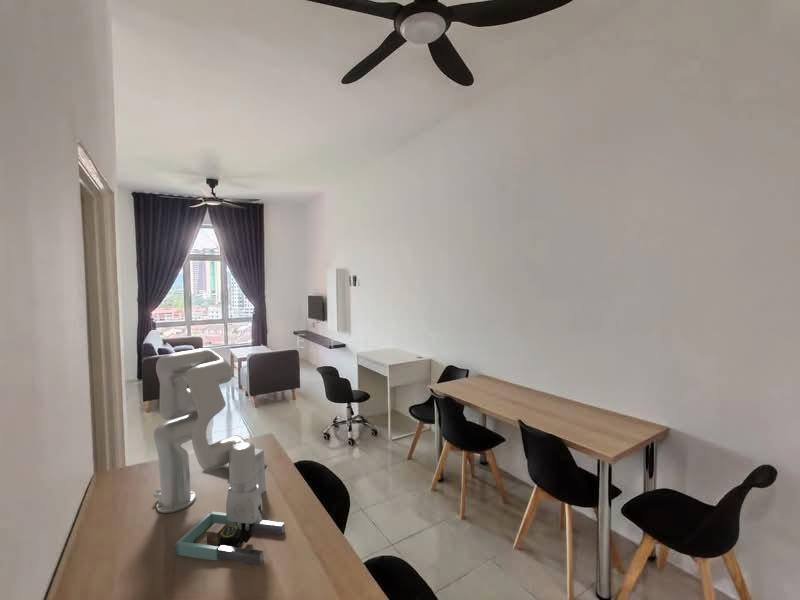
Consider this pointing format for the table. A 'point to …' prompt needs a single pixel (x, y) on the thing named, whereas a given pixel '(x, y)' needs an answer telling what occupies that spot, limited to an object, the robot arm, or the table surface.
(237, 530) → the tape measure
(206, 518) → the u shaped frame
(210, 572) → the table surface
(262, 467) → the supplement box
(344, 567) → the table surface
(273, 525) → the slot rails
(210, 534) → the tan cardboard cube
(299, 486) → the table surface
